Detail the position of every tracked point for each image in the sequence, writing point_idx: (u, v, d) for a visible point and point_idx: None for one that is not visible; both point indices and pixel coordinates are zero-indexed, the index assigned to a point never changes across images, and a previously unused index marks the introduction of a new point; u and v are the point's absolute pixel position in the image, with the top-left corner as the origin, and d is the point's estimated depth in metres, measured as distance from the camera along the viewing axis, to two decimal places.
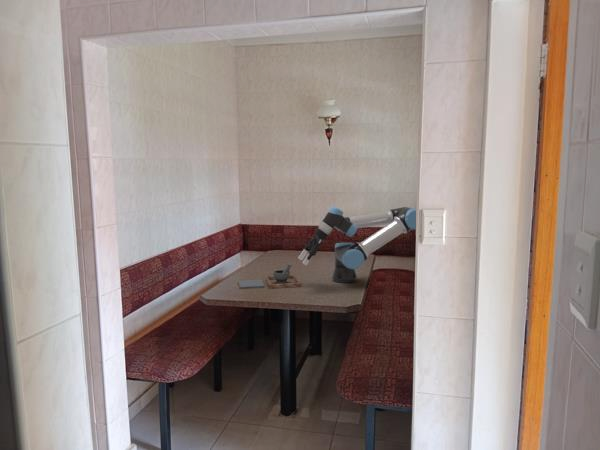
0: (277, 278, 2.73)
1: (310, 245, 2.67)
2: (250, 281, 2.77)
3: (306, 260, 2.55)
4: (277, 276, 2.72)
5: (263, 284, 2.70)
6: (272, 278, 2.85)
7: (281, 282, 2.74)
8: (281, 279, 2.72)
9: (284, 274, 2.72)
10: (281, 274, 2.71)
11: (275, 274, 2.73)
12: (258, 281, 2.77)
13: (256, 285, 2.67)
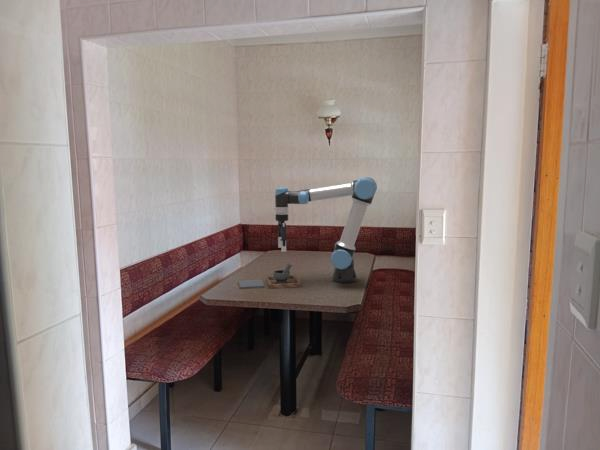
0: (277, 278, 2.73)
1: (280, 231, 2.77)
2: (250, 281, 2.77)
3: (283, 247, 2.67)
4: (277, 276, 2.72)
5: (263, 284, 2.70)
6: (272, 278, 2.85)
7: (281, 282, 2.74)
8: (281, 279, 2.72)
9: (284, 274, 2.72)
10: (281, 274, 2.71)
11: (275, 274, 2.73)
12: (258, 281, 2.77)
13: (256, 285, 2.67)
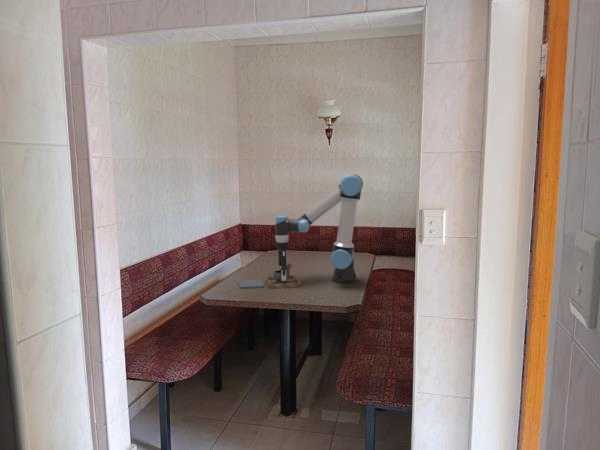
0: (277, 278, 2.73)
1: (281, 259, 2.78)
2: (250, 281, 2.77)
3: (283, 276, 2.71)
4: (277, 276, 2.72)
5: (263, 284, 2.70)
6: (272, 278, 2.85)
7: (281, 282, 2.74)
8: (281, 279, 2.72)
9: None
10: None
11: (275, 274, 2.73)
12: (258, 281, 2.77)
13: (256, 285, 2.67)
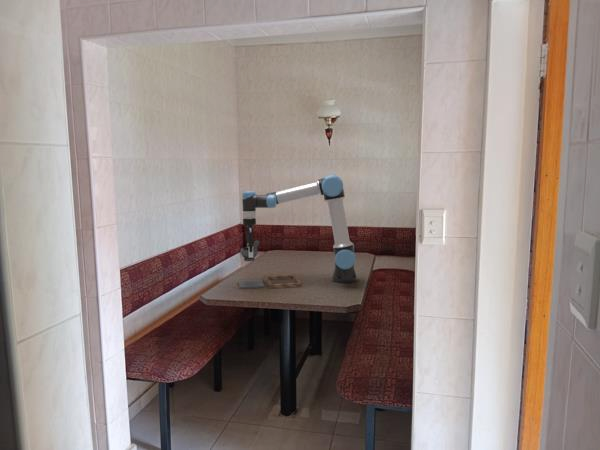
0: (244, 255, 2.67)
1: None
2: (250, 281, 2.77)
3: (250, 253, 2.65)
4: (244, 253, 2.67)
5: (263, 284, 2.70)
6: (272, 278, 2.85)
7: (248, 259, 2.68)
8: (248, 256, 2.67)
9: None
10: None
11: (242, 251, 2.67)
12: (258, 281, 2.77)
13: (256, 285, 2.67)
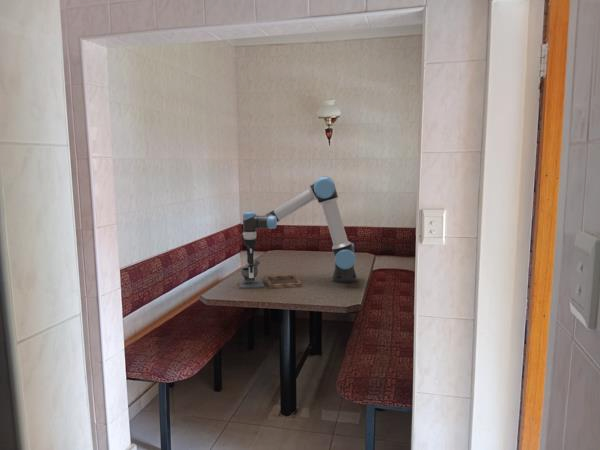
0: (245, 275, 2.69)
1: None
2: None
3: (250, 273, 2.67)
4: (244, 273, 2.68)
5: (263, 284, 2.70)
6: (272, 278, 2.85)
7: (249, 279, 2.70)
8: None
9: None
10: (248, 271, 2.68)
11: (242, 271, 2.69)
12: (258, 281, 2.77)
13: (256, 285, 2.67)
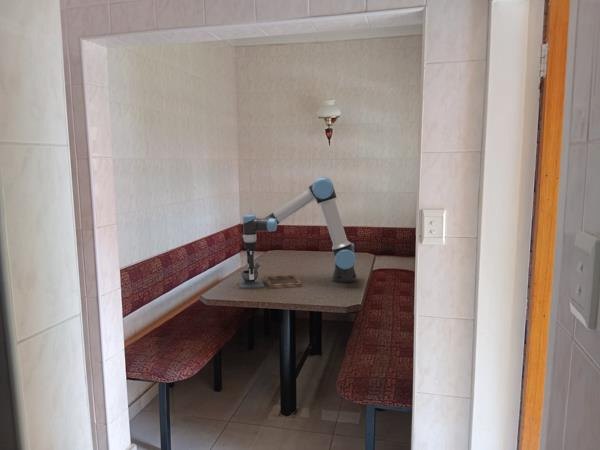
0: (245, 278, 2.69)
1: None
2: None
3: (251, 275, 2.65)
4: (245, 276, 2.68)
5: (263, 284, 2.70)
6: (272, 278, 2.85)
7: (249, 282, 2.70)
8: None
9: None
10: None
11: (243, 274, 2.69)
12: (258, 281, 2.77)
13: (256, 285, 2.67)
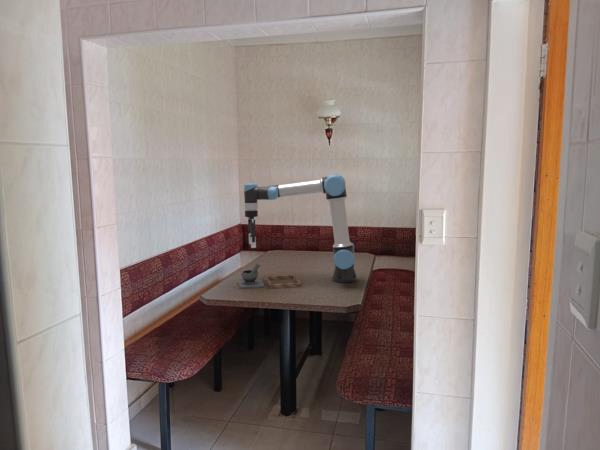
0: (245, 278, 2.69)
1: (250, 227, 2.75)
2: None
3: (253, 243, 2.65)
4: (245, 276, 2.68)
5: (263, 284, 2.70)
6: (272, 278, 2.85)
7: (249, 282, 2.70)
8: (249, 279, 2.69)
9: (252, 274, 2.68)
10: (249, 274, 2.68)
11: (243, 274, 2.69)
12: (258, 281, 2.77)
13: (256, 285, 2.67)
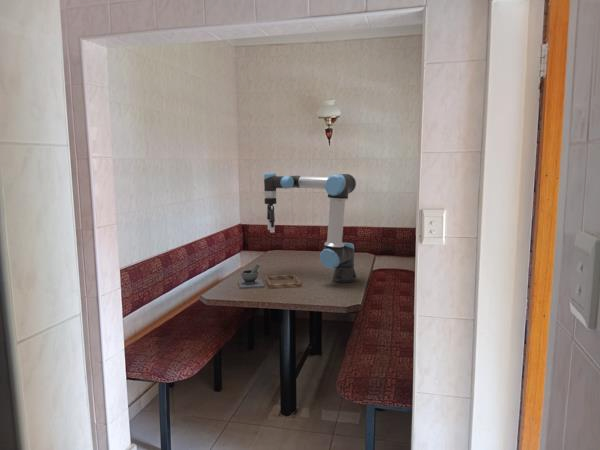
0: (245, 278, 2.69)
1: (269, 214, 2.96)
2: None
3: (272, 228, 2.86)
4: (245, 276, 2.68)
5: (263, 284, 2.70)
6: (272, 278, 2.85)
7: (249, 282, 2.70)
8: (249, 279, 2.69)
9: (252, 274, 2.68)
10: (249, 274, 2.68)
11: (243, 274, 2.69)
12: (258, 281, 2.77)
13: (256, 285, 2.67)
